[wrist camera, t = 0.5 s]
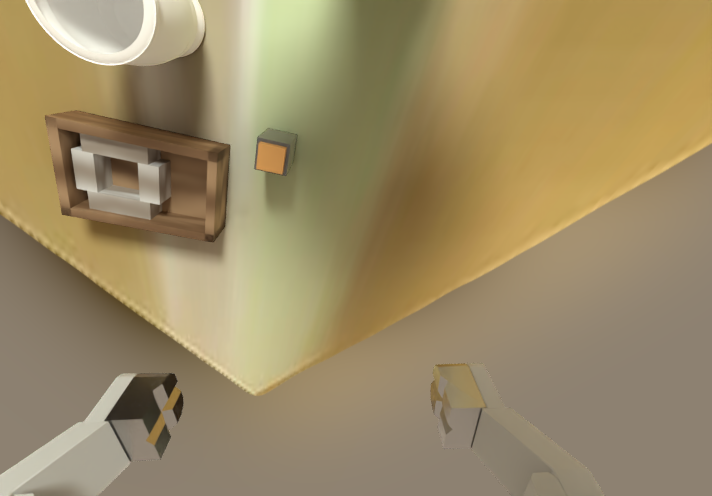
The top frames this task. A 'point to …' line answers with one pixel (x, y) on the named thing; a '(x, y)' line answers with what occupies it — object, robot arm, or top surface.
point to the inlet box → (139, 175)
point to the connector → (275, 151)
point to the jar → (123, 29)
